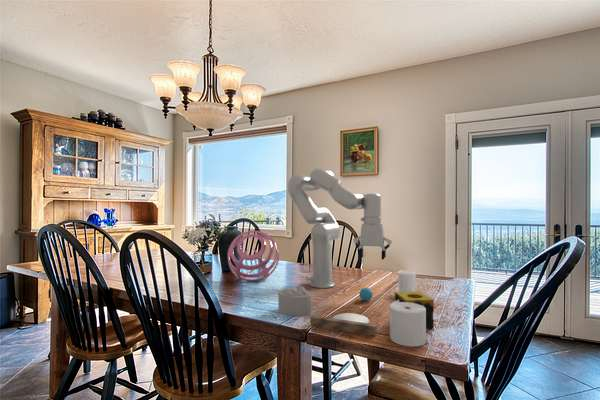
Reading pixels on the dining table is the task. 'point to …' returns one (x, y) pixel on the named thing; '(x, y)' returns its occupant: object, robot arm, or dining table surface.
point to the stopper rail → (344, 325)
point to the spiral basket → (253, 257)
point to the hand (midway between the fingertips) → (372, 258)
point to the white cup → (406, 281)
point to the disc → (352, 317)
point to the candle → (421, 300)
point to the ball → (365, 294)
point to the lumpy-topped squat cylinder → (294, 301)
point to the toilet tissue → (407, 323)
